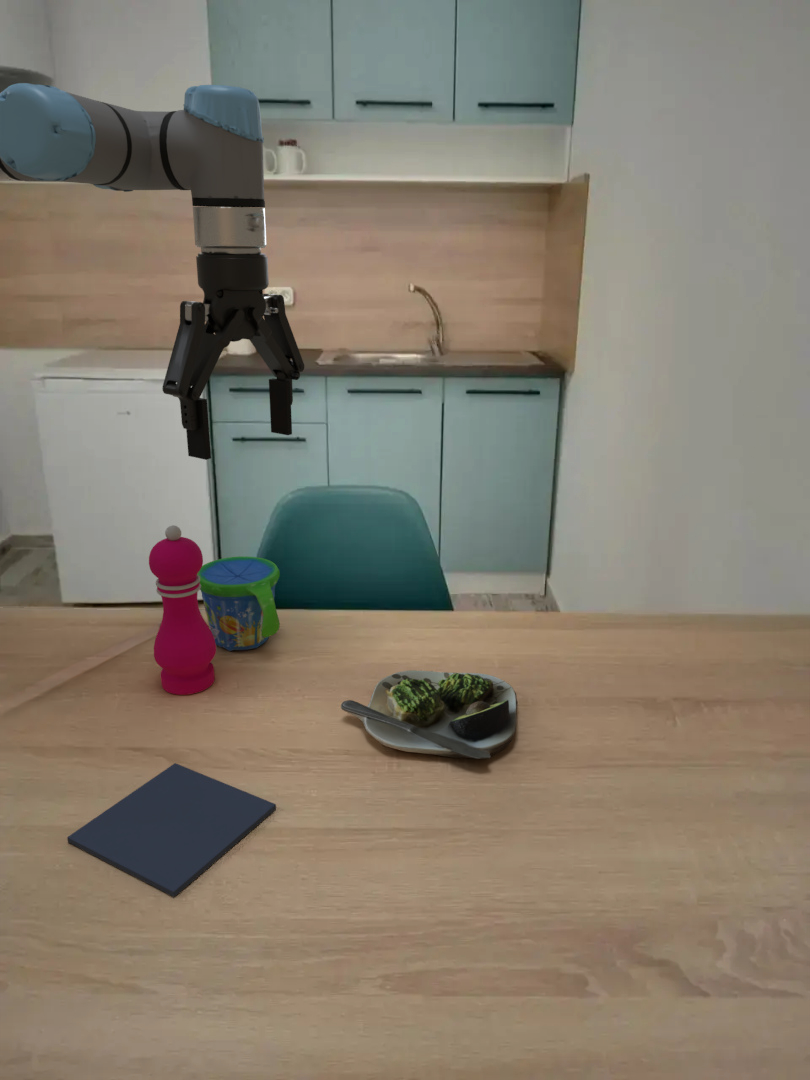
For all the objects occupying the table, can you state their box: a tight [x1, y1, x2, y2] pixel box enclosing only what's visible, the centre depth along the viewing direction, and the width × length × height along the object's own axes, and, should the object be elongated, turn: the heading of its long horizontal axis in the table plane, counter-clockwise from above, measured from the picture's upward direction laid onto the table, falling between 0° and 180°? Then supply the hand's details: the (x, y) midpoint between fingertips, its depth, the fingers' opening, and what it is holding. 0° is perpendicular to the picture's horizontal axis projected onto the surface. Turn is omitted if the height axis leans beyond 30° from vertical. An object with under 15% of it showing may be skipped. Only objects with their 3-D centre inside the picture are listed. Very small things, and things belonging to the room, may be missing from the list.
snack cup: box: [197, 555, 281, 652], centre depth 109 cm, size 16×10×10 cm
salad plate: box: [340, 669, 519, 760], centre depth 91 cm, size 19×18×5 cm
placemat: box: [66, 762, 277, 898], centre depth 75 cm, size 13×13×1 cm
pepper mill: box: [148, 524, 217, 696], centre depth 97 cm, size 7×7×20 cm
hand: (242, 444), depth 96 cm, fingers open, 13 cm apart
